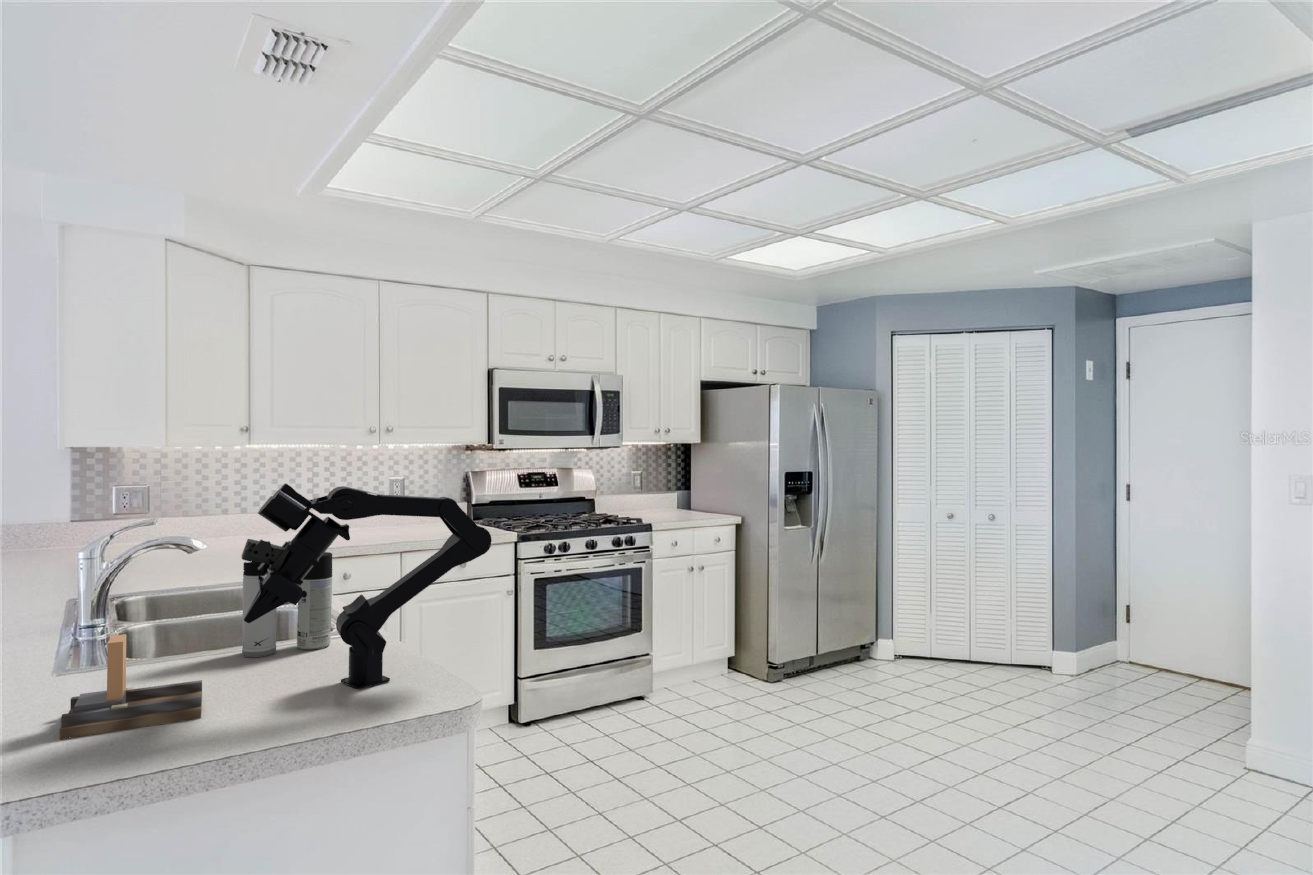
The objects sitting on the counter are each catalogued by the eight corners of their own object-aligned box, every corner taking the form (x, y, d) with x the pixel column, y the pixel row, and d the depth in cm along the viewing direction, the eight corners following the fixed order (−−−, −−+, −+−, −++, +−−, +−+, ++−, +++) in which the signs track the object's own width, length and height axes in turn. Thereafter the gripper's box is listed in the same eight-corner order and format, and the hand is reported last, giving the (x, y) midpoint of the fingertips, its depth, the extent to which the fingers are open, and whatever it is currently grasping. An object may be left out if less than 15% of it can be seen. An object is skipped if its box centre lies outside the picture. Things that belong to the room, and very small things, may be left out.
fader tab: (126, 700, 124) (126, 633, 124) (121, 712, 118) (122, 642, 118) (80, 706, 121) (81, 637, 121) (73, 719, 115) (74, 647, 115)
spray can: (303, 642, 165) (305, 551, 165) (335, 641, 166) (336, 551, 166) (291, 650, 159) (293, 556, 159) (325, 650, 159) (326, 556, 159)
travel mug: (263, 659, 153) (264, 560, 153) (234, 656, 154) (236, 559, 154) (284, 650, 159) (285, 555, 159) (256, 648, 160) (258, 554, 160)
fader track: (202, 695, 131) (202, 676, 131) (200, 717, 121) (201, 697, 121) (72, 713, 122) (73, 693, 122) (59, 739, 112) (59, 717, 112)
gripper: (265, 515, 139) (204, 586, 134) (271, 526, 123) (202, 608, 118) (316, 548, 144) (259, 619, 139) (329, 564, 128) (264, 644, 123)
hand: (246, 621), depth 130 cm, fingers closed
